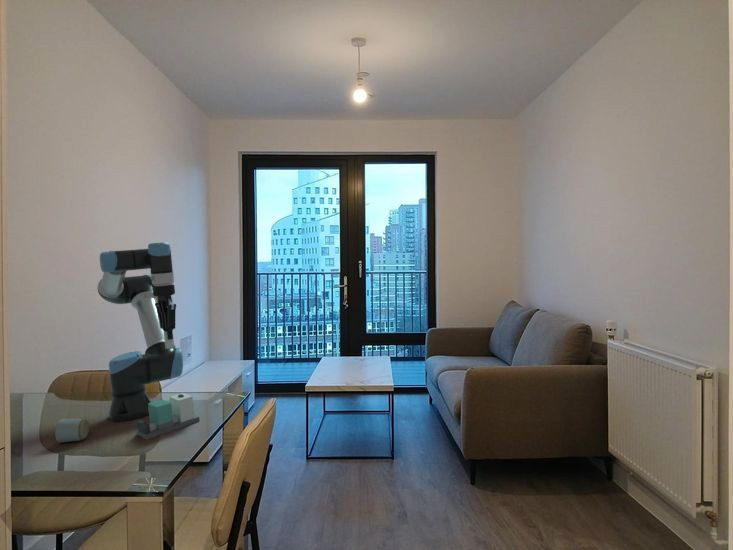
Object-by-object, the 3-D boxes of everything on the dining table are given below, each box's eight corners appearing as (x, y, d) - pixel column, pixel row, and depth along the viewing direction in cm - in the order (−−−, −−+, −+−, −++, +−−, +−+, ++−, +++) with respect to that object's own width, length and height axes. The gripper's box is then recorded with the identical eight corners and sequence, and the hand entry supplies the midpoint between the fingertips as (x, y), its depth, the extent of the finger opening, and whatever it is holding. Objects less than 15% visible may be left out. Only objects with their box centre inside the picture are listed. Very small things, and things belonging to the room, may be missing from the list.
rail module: (159, 430, 166) (156, 407, 166) (150, 425, 171) (147, 403, 170) (173, 425, 170) (171, 402, 169) (164, 421, 175) (162, 399, 174)
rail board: (146, 439, 163) (143, 410, 162) (136, 434, 168) (133, 405, 167) (199, 420, 177) (196, 393, 176) (188, 416, 182) (185, 390, 181)
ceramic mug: (81, 443, 164) (79, 421, 163) (55, 446, 163) (53, 423, 162) (95, 431, 174) (93, 410, 174) (71, 434, 173) (69, 413, 173)
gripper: (145, 285, 181) (152, 347, 183) (160, 286, 172) (167, 352, 174) (165, 282, 187) (172, 343, 189) (181, 283, 178) (187, 347, 180)
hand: (169, 347), depth 181 cm, fingers closed
